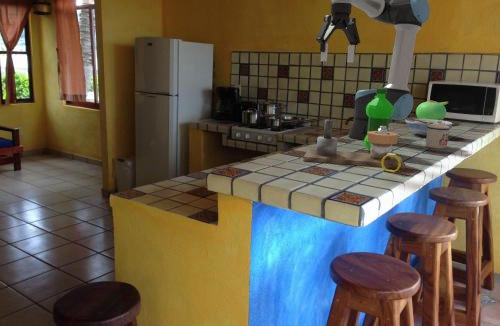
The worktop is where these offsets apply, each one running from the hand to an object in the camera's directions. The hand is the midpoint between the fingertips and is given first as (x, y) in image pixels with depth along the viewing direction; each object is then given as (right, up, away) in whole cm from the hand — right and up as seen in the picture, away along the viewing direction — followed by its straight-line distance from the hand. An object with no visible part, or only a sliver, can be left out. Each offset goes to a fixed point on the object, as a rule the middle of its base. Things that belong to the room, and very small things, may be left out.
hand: (337, 62), depth 166 cm
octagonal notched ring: (+14, -31, -11) cm, 36 cm away
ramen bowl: (+58, -24, +59) cm, 86 cm away
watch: (+13, -41, -23) cm, 49 cm away
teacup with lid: (+50, -31, +27) cm, 65 cm away
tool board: (+4, -37, -8) cm, 38 cm away
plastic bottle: (+18, -34, +11) cm, 40 cm away
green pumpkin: (+83, -13, +115) cm, 142 cm away
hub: (+13, -37, -10) cm, 40 cm away
